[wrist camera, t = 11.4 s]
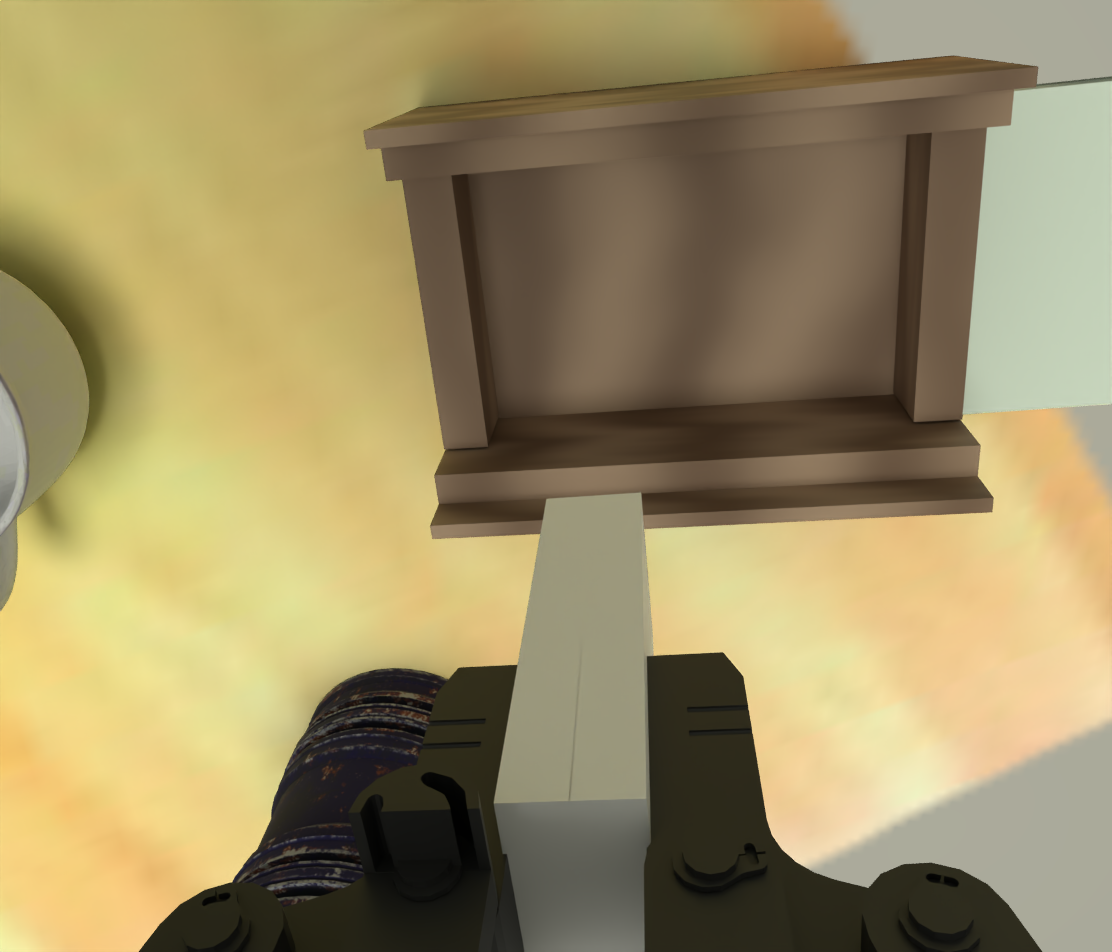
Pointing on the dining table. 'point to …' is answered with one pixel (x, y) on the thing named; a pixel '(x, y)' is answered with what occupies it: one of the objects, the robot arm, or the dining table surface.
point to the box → (705, 293)
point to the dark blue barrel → (339, 781)
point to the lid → (1045, 254)
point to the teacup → (34, 410)
